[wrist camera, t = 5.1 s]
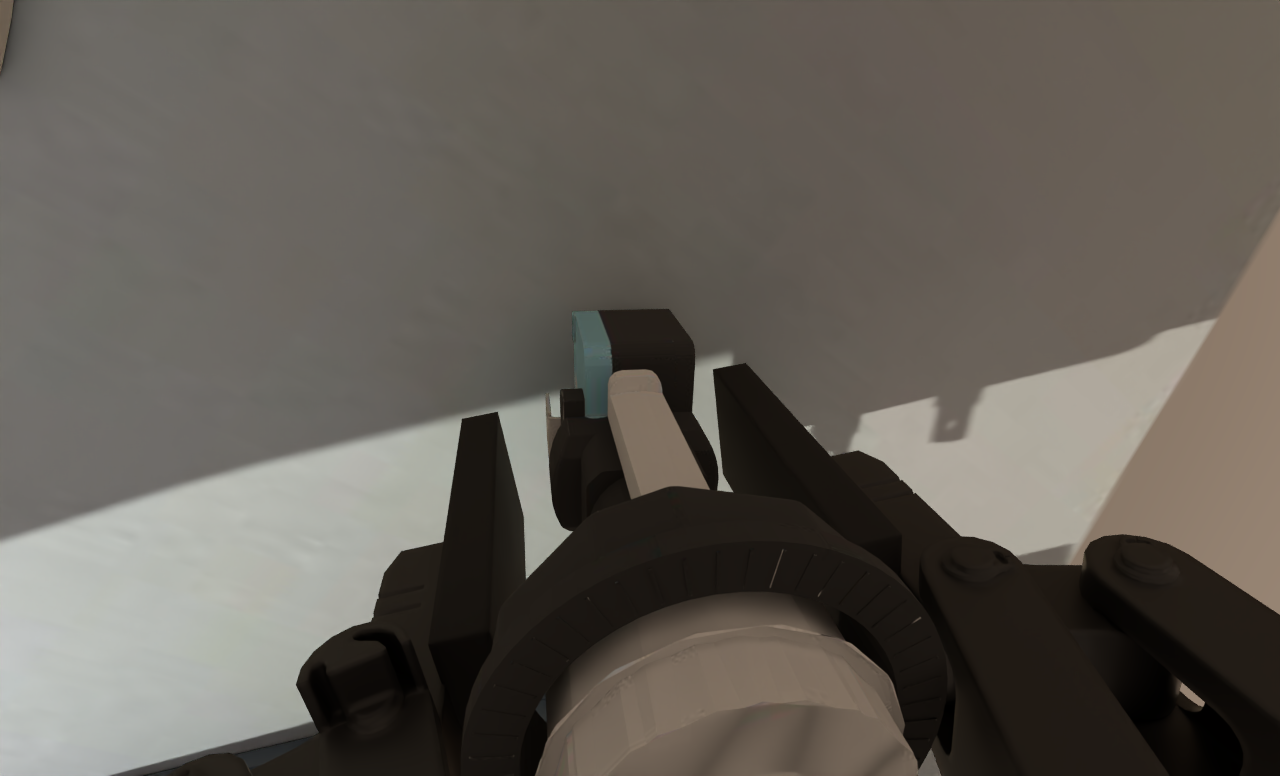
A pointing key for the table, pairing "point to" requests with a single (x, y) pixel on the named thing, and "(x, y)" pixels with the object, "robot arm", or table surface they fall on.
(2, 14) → the pliers
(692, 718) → the push button
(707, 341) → the table surface
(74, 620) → the table surface
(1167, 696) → the robot arm
